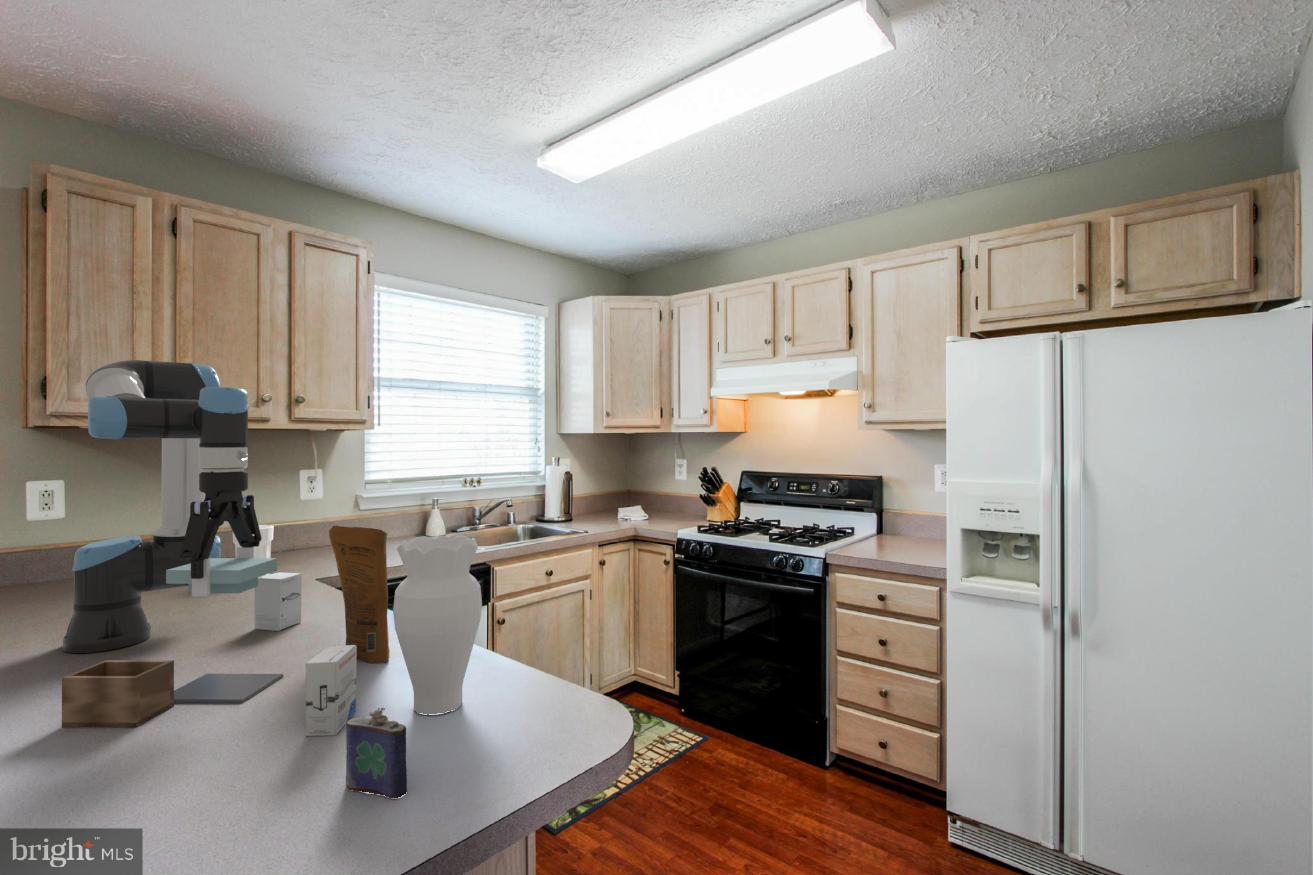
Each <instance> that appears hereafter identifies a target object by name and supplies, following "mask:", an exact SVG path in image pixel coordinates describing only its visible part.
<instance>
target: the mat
mask: <svg viewBox="0 0 1313 875" xmlns="http://www.w3.org/2000/svg"><path fill="white" fill-rule="evenodd" d="M283 677H284V673H205V674H203V675H201V676H200V677H197V678H195V679H194V680H192V681H190V682H188V683H186V684H184V685H183V686H180V687H178V688H176V689H174V704H176V703H180V704H185V703H186V704H188V703H189V704H190V703H191V704H194V703H195V704H199V703H200V704H202V703H203V704H210V703H212V704H230V703H231V704H243V703H245V702H246V701H248V700H250V699H251V698H253V697H254V696H256V695H258V694H259V693H261V692H262V691H263V690H265V689H267V688H268V687H269V686H272V685H273V684H274V683H276V682H278V681H279V680H281V679H282V678H283Z"/></svg>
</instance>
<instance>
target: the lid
mask: <svg viewBox="0 0 1313 875" xmlns="http://www.w3.org/2000/svg"><path fill="white" fill-rule="evenodd" d="M209 559H210V594H241V593H244V592H246V591H250V590H251V589H255V587H257V586H258V577H260V576H263V575H266V574H269V573H270V574H271V573H274V572H277V570H278V559H277V558H276V557H274V558H273V557H271V558H236V557H235V558H234V557H233V558H232V557H231V558H230V557H227V558H225V557H220V558H209ZM166 584H189V586H188V594H192V579H191V564H187V565H183V566H180V567H176V568H172V569H168V570H166Z"/></svg>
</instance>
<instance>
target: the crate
mask: <svg viewBox="0 0 1313 875" xmlns="http://www.w3.org/2000/svg"><path fill="white" fill-rule="evenodd" d="M174 691H175V660H172V659H171V660H170V659H169V660H156V659H155V660H154V659H153V660H151V659H150V660H145V659H144V660H140V659H139V660H137V659H134V660H133V659H131V660H129V659H128V660H127V659H123V660H119V659H118V660H117V659H116V660H115V659H113V660H108V659H107V660H105V659H104V660H103V661H100V662H98V663H95V664H93V665H89V666H88V667H85V668H82V669H81V670H78V671H76V672H73V673H70V674H68V675H66V676H63V677H61V728H127V729H128V728H130V729H131V728H135V729H136V728H138V727H139V726H141V725H142V724H145V723H147V722H148V721H150V720H152V719H154V718H155V717H158V716H159V715H161V714H163V713H164V712H167V711H168V710H171V709H172V708H174V707H175V703H174Z"/></svg>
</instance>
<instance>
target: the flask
mask: <svg viewBox="0 0 1313 875" xmlns="http://www.w3.org/2000/svg"><path fill="white" fill-rule="evenodd" d="M385 710H386V708H385V707H381V708H379V707H378V708H377V709H376V710H374V711H372V712H371V711H370V712H369V714H368V715H369V716H370V717H371V718H370V717H354V718H350V719H349V720H348V721H347V723H346V724H345V733H346V734H345V739H346V742H345V743H346V745H345V746H346V748H345V750H346V752H345V753H346V754H345V756H346V759H345V760H346V762H345V763H346V766H345V767H346V768H345V788H346V789H347V790H348V791H350V790H353V791H355V792H358V791H362V792H369V793H374V795H376V794H380V795H385V796H386V797H389V798H398V797H401V796H402V795H404V794H406V792H407V793H408V788H407V787H408V783H407V782H408V774H407V772H408V767H407V727H406V725H405V724H403V723H399V722H398V721H396V720H389V717H388V716H387V715H384V714H383V711H385ZM406 795H407V794H406ZM389 798H388V799H389Z"/></svg>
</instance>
